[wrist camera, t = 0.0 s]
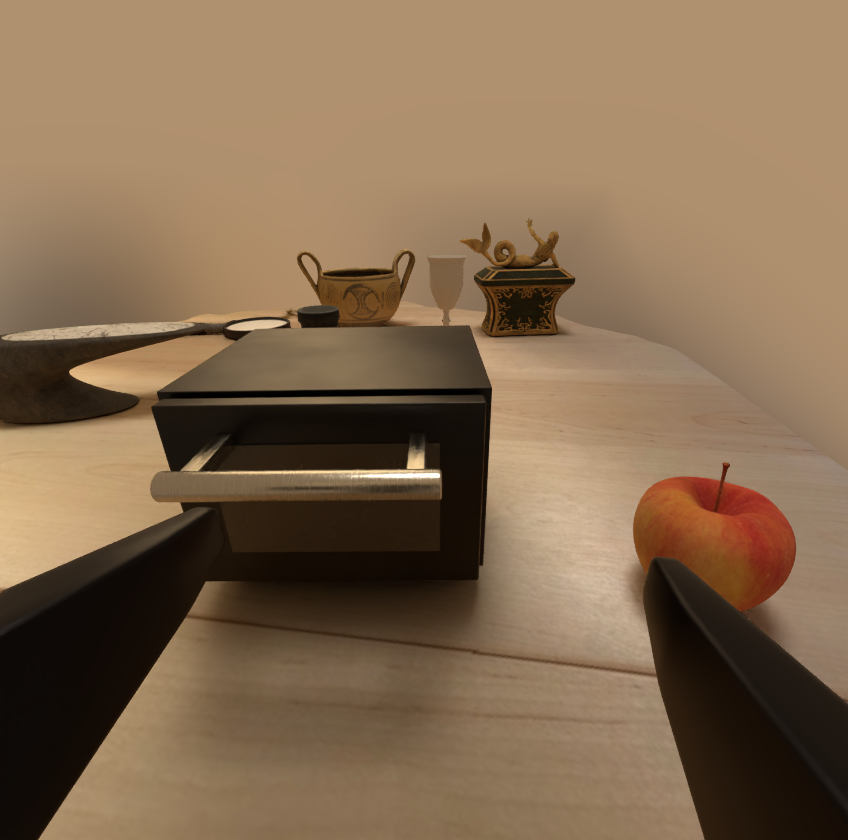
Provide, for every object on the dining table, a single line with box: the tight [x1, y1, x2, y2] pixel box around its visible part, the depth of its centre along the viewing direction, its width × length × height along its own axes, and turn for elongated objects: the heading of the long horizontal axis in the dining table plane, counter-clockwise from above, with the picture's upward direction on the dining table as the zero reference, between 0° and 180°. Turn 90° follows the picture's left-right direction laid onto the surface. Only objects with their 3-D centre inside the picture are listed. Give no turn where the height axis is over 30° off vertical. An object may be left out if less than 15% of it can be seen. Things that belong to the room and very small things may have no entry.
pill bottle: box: [297, 305, 341, 328], centre depth 52 cm, size 6×6×11 cm
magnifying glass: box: [194, 317, 291, 339], centre depth 87 cm, size 12×24×2 cm, turn 90°
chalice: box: [427, 255, 466, 326], centre depth 67 cm, size 6×6×15 cm
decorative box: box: [460, 220, 575, 336], centre depth 80 cm, size 20×10×20 cm, turn 94°
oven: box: [157, 325, 492, 566], centre depth 29 cm, size 13×16×13 cm
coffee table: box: [0, 322, 210, 423], centre depth 52 cm, size 25×9×9 cm, turn 101°
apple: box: [633, 463, 796, 612], centre depth 24 cm, size 7×7×8 cm
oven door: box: [151, 395, 486, 581], centre depth 20 cm, size 5×15×11 cm, turn 89°
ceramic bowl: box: [297, 249, 415, 327], centre depth 87 cm, size 22×17×15 cm
